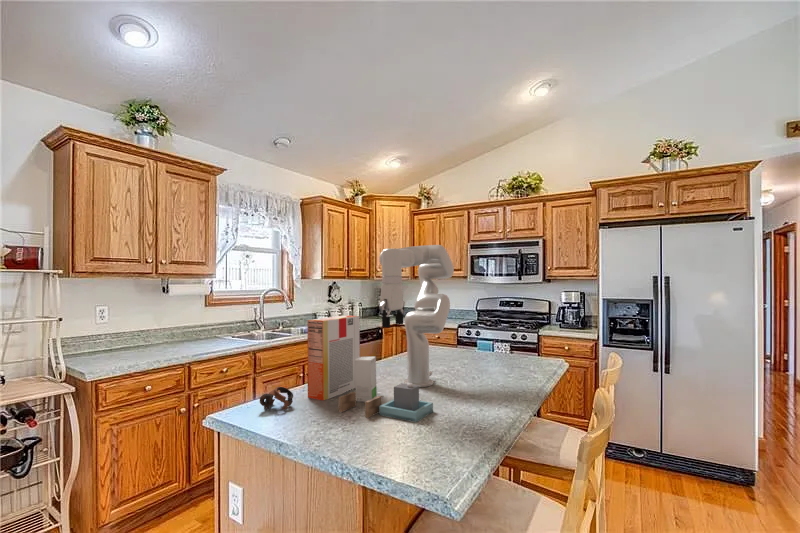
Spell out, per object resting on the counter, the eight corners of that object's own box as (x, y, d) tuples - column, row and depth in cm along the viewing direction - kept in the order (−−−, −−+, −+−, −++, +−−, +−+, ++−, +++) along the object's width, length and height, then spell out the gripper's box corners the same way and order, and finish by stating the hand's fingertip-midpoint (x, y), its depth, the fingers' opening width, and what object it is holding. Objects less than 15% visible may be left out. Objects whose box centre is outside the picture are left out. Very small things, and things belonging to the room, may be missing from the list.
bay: (353, 405, 146) (353, 391, 146) (381, 410, 140) (381, 396, 140) (338, 411, 139) (338, 397, 139) (368, 417, 133) (367, 402, 133)
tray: (398, 405, 146) (398, 397, 146) (433, 411, 138) (432, 402, 138) (379, 415, 135) (379, 406, 135) (416, 422, 128) (415, 412, 128)
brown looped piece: (277, 403, 152) (287, 384, 151) (289, 419, 146) (300, 400, 145) (249, 403, 142) (261, 383, 142) (262, 420, 136) (273, 399, 136)
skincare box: (371, 402, 149) (371, 360, 150) (354, 401, 151) (353, 359, 151) (377, 396, 158) (376, 356, 158) (360, 395, 159) (360, 355, 160)
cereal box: (345, 384, 177) (344, 315, 178) (359, 386, 172) (359, 316, 174) (307, 397, 157) (307, 320, 158) (323, 400, 153) (323, 320, 154)
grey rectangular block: (401, 406, 141) (401, 380, 141) (419, 409, 137) (418, 383, 138) (393, 410, 137) (393, 383, 137) (411, 413, 133) (411, 386, 133)
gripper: (395, 280, 164) (396, 322, 164) (371, 281, 149) (372, 328, 149) (411, 280, 160) (412, 323, 160) (388, 281, 145) (389, 329, 145)
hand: (393, 325), depth 154 cm, fingers open, 9 cm apart
